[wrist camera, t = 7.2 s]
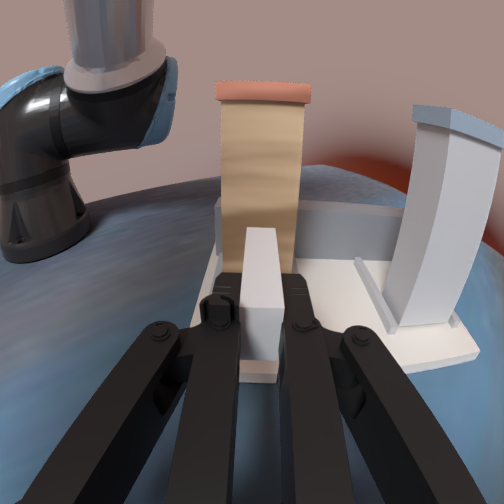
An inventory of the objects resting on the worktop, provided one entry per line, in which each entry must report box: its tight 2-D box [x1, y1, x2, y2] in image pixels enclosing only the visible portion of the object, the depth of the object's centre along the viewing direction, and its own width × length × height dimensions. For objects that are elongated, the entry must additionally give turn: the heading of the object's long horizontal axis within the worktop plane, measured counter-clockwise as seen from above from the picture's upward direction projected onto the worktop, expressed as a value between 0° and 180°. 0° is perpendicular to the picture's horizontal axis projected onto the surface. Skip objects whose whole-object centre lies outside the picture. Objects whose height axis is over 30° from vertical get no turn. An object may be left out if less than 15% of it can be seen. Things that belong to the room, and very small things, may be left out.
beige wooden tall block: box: [216, 81, 311, 273], centre depth 20 cm, size 5×6×15 cm
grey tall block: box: [382, 105, 504, 327], centre depth 16 cm, size 5×6×15 cm
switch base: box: [190, 197, 480, 383], centre depth 22 cm, size 18×22×6 cm
